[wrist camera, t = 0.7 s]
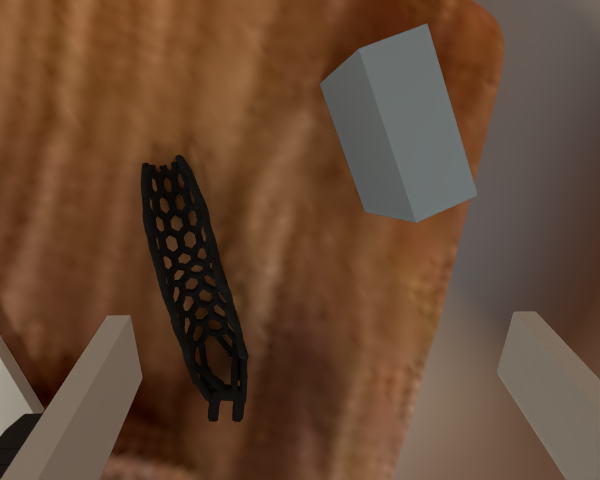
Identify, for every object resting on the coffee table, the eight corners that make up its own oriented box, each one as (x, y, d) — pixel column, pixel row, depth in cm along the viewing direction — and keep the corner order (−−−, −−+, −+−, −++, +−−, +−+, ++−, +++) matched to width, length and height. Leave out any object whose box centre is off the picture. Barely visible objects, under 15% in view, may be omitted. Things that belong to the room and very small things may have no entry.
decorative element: (133, 167, 34) (116, 165, 28) (194, 153, 35) (190, 148, 29) (206, 408, 38) (205, 448, 33) (260, 390, 39) (267, 427, 33)
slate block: (411, 191, 39) (477, 195, 29) (364, 211, 38) (416, 222, 29) (370, 64, 37) (427, 23, 27) (319, 84, 36) (358, 48, 26)
